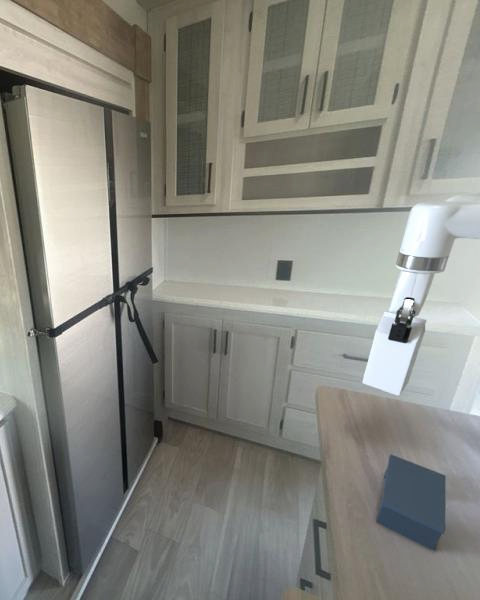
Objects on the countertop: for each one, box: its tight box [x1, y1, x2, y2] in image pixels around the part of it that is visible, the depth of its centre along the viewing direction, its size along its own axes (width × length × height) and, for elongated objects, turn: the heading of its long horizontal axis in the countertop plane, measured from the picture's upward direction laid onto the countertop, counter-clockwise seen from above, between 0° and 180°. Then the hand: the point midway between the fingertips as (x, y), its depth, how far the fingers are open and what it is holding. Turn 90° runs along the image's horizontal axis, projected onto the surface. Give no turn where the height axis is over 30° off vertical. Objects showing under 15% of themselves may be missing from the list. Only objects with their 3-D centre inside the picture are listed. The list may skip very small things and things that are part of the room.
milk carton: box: [362, 311, 427, 397], centre depth 79 cm, size 7×7×19 cm
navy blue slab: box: [376, 453, 447, 551], centre depth 68 cm, size 15×9×6 cm, turn 135°
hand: (399, 333), depth 77 cm, fingers closed on milk carton, 7 cm apart
